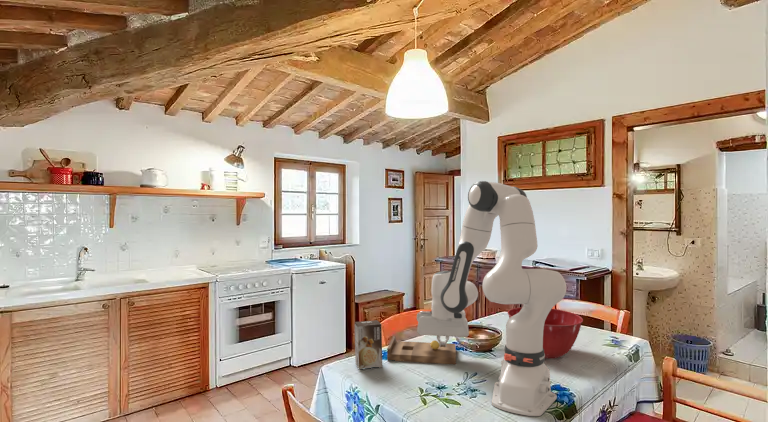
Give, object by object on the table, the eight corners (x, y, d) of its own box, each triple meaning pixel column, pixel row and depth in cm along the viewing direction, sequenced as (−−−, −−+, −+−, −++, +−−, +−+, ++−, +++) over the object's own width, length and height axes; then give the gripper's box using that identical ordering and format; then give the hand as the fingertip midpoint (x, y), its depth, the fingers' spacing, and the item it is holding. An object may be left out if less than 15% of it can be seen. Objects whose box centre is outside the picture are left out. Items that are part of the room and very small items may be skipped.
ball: (439, 347, 159) (432, 341, 159) (434, 353, 160) (427, 347, 161) (442, 343, 162) (435, 337, 163) (437, 348, 163) (430, 342, 164)
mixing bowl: (568, 342, 177) (568, 306, 177) (595, 367, 148) (595, 325, 148) (501, 340, 180) (501, 305, 180) (516, 365, 151) (516, 323, 151)
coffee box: (378, 361, 156) (378, 319, 156) (382, 367, 149) (382, 324, 149) (354, 364, 153) (354, 321, 153) (358, 370, 147) (357, 326, 147)
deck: (455, 349, 168) (455, 339, 168) (455, 364, 152) (455, 352, 152) (393, 346, 172) (393, 336, 172) (387, 360, 157) (387, 348, 157)
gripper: (415, 312, 160) (416, 347, 160) (468, 314, 156) (469, 350, 156) (417, 308, 166) (417, 342, 166) (468, 310, 162) (468, 345, 162)
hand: (443, 346), depth 161 cm, fingers closed
